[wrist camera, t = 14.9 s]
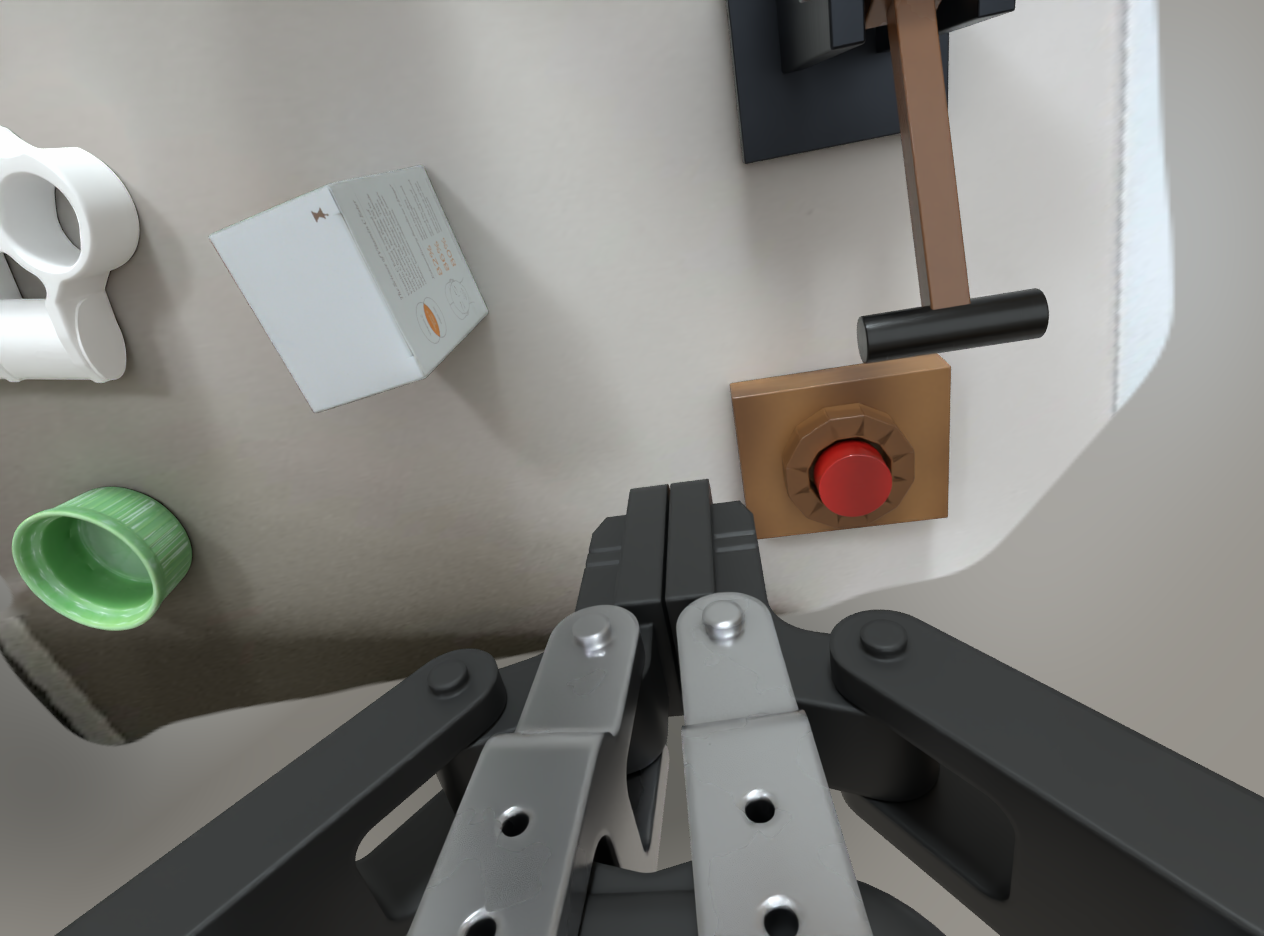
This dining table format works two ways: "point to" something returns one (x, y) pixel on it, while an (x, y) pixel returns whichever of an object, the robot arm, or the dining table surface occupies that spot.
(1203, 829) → the robot arm
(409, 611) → the dining table surface
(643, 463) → the dining table surface
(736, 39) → the bracket
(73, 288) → the white brass knuckles
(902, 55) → the lever
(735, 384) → the button block
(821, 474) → the button
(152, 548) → the ramekin
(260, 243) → the small box
